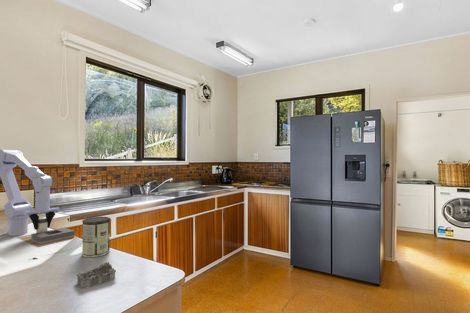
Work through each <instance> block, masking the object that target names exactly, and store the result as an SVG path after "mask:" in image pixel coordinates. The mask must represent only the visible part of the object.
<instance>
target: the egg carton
mask: <svg viewBox="0 0 470 313" xmlns="http://www.w3.org/2000/svg"><path fill="white" fill-rule="evenodd" d="M116 272H117V270H116V269H115V268H114V267H113V266H112V264H111V263H110V262H104V263H102V264H100V265H99V266H97V267H94V268H93V269H89V270H86V271H84V272H82V273H77V274H75V275H76V278H77V282H76V283H77V285H80V288H85V289H87V288H90V287H91V286H93V285H101V284H102V283H103V282H105V281H109V282H111V281H113V280H114V279H115V278H116Z"/></svg>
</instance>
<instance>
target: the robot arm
mask: <svg viewBox="0 0 470 313" xmlns="http://www.w3.org/2000/svg"><path fill="white" fill-rule="evenodd" d="M17 166H18V167H19V168H21V169H22V170H24V175H25V176H26V177H27V178H29V180H30V181H32V186H33V188H34V189H33V190H34V192H35V201H34V202H35V206H34V207H35V209H33V206H32V204H31V203H30V202H29V200H28V199H27V198H25V197H23V195H22V194H21V190H20V188H19V184H18V182H17V179H16V176H15V174H14V173H15V172H14V170H13V169H14V168H15V167H17ZM0 180H1V182H2V183H1V184H2V186H3V188H4V191H5V194H6V197H7V200H8V201H7V202H6V203H5V204H4V215H5V217H6V218H7V220H8V221H7V225H6V226H7V227H6V233H7V235H9V236H12V237H13V236H14V237H17V236H18V237H19V236H25V235H26V234H28V231H29V230H28V226H29V219H30V221H31V222H32V225H33V229H34V230H35V231H36V230H38V219H40V216H39V215H42V214H45V218H46V219H47V222H48V228H47V229H49V228H50V227H51V223H52V220H53V219H54V217H55V216H56V213H57V212H60V207H59V206H57V207H51V206H50V202H51V201H50V200H51V187H52V186H53V185H54V179H53V177H52V176H51V175H47V174H45V173H44V172H43V171H42V170H40V169H39V166H35V165H31V164H30V162H29V161H28V160H27V159H26V158H25V157H24V152H22V151H21V150H20V149H1V148H0Z"/></svg>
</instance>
